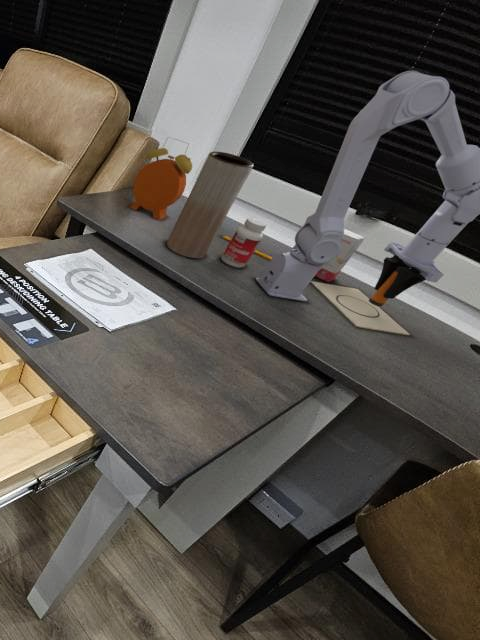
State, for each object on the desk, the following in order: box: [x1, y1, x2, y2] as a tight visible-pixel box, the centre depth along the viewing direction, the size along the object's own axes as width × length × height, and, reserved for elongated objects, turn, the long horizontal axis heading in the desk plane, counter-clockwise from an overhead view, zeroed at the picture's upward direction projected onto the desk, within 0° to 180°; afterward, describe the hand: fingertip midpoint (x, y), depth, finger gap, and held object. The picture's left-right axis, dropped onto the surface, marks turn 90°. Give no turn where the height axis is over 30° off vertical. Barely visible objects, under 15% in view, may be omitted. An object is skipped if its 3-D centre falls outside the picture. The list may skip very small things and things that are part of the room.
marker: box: [369, 266, 409, 307], centre depth 103 cm, size 3×3×9 cm
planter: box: [166, 150, 254, 259], centre depth 111 cm, size 10×10×23 cm
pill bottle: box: [220, 217, 267, 269], centre depth 114 cm, size 6×6×11 cm
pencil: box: [222, 235, 273, 261], centre depth 126 cm, size 1×18×1 cm, turn 39°
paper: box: [310, 280, 411, 336], centre depth 109 cm, size 13×20×1 cm, turn 177°
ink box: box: [314, 228, 366, 283], centre depth 117 cm, size 9×5×12 cm, turn 33°
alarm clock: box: [129, 136, 193, 221], centre depth 130 cm, size 13×6×20 cm, turn 49°
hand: (383, 293), depth 104 cm, fingers closed on marker, 3 cm apart
